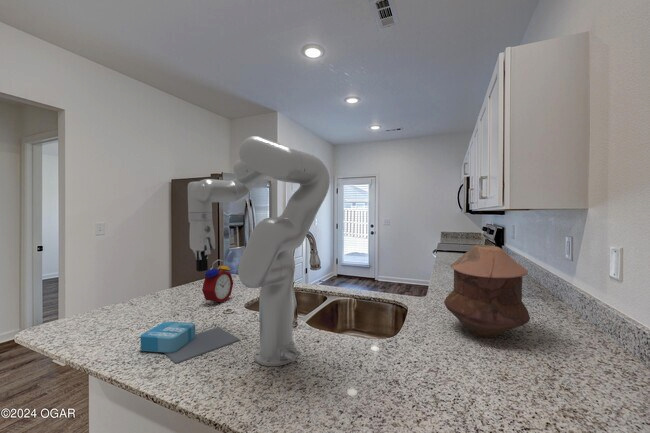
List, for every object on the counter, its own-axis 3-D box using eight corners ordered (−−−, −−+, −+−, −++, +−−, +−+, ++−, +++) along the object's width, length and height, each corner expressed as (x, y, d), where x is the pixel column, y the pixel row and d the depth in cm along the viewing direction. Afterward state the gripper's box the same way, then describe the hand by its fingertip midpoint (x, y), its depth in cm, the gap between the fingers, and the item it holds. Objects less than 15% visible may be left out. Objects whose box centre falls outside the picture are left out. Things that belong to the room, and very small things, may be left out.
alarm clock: (213, 307, 129) (213, 262, 128) (197, 305, 131) (196, 261, 131) (234, 297, 143) (233, 257, 142) (219, 296, 145) (218, 256, 145)
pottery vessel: (468, 313, 119) (468, 240, 118) (542, 335, 98) (543, 246, 97) (429, 328, 104) (429, 245, 103) (507, 358, 83) (508, 253, 82)
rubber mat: (240, 340, 96) (240, 339, 96) (175, 364, 81) (175, 362, 81) (218, 327, 106) (218, 326, 106) (157, 347, 92) (157, 345, 92)
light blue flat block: (197, 322, 98) (173, 338, 86) (197, 336, 98) (173, 353, 87) (165, 321, 100) (137, 336, 88) (165, 334, 100) (138, 350, 88)
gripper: (221, 217, 98) (223, 271, 98) (201, 217, 108) (202, 266, 108) (199, 217, 93) (201, 275, 93) (180, 218, 102) (181, 270, 103)
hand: (202, 270), depth 101 cm, fingers closed
